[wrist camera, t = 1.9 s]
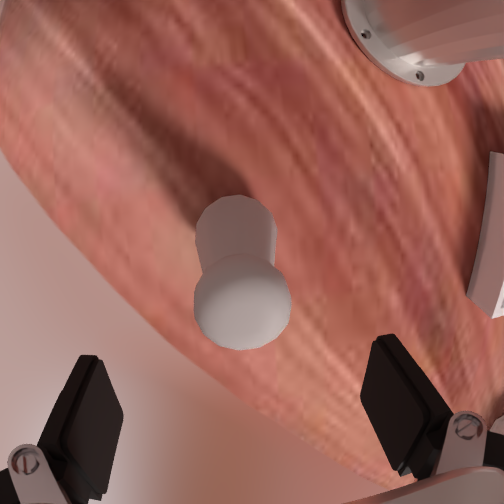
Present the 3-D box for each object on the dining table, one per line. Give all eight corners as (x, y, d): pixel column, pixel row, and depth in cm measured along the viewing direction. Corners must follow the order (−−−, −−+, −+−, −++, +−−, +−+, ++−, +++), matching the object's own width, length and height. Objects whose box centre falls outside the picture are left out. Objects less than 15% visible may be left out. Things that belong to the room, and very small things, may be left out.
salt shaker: (287, 224, 25) (340, 314, 13) (237, 273, 27) (247, 389, 15) (233, 172, 23) (241, 223, 11) (182, 226, 25) (146, 322, 13)
